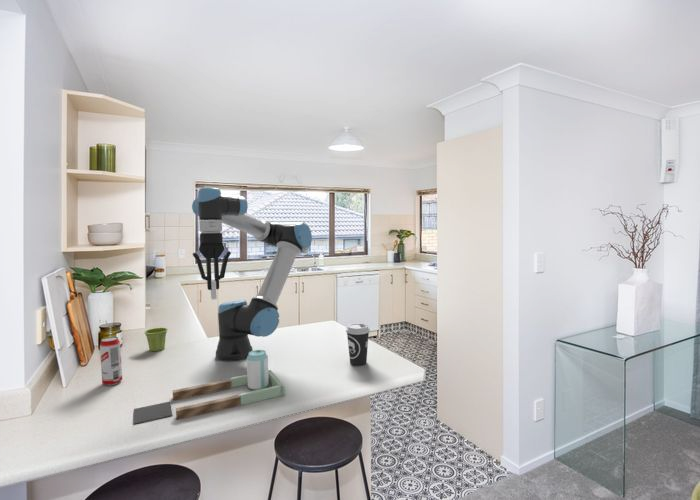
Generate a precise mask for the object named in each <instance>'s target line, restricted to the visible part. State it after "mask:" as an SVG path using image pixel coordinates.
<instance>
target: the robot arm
mask: <svg viewBox="0 0 700 500" xmlns="http://www.w3.org/2000/svg"><path fill="white" fill-rule="evenodd" d="M197 193H198V194H197V197H196V198H195V199H194V200H193V201H192V204H191V209H192V212H193V213H194V215H195V216H196V217H197V216H198V224H199V225H198V227H199V232H200V234H199V247H198V250H197V251H196V252H192V256H193V257H194V259H195V260H196V264H197V267H198V270H199V271H198V272H199V274H200V277H201V279H202V280H204V281H206V285H207V290H208V291H210V298H211V300H217V299H218V298H217V290H219V289H220V280H222V279H224V278H225V274H226V271H227V267H228V266H227V265H228V262H229V261H228V260H229V257H230V256H231V254H232V252H231V251H229V250H227V249H225V247H224V243H223V242H224V241H223V233H222V231H223V224H224V225H227V226H229V227H231V228H234V229H236V230H239V231H241V232H243V233H246V234H248V235H250V236H252V237H254V239H255V240H256V241H259V242H261V243H264V244H266V245H269V246H272V247H275V248H277V251H276V253H275V256H274V257H273V259H272V261H271V265H270V267H269V269H268V271H267V272H266V275H265V278H264V279H263V281H262V284H261V286H260V288H259V291H258V292H257V295H256V296H253V297H252V298H251V300H250V301H249V303H248V302H247V300H246V299H238V300H231V301H227V302H223V303H221V304H219V306H218V308H217V311H218V312H217V319H218V320H217V321H218V334H219V337H218V338H219V340H218V343H217V346H216V350H215V359H216V360H218V361H221V362H235V361H236V362H237V361H242V360H245V359H247V357H248V355H249V354H248V353H249V352H251V351H254V349H253V348H254V347H252V345H251V342H250V339H249V335H250V336H255V337H268V336H270V335H272V334H273V333H274V332H275V331H276V330H277V328H278V326H279V324H280V319H279V318H280V313H279V312H278V310H279V307H278V305H277V302H278V301H279V298H280V296H281V294H282V292H283V291H282V290H283V289H284V287H285V283H287V279H288V277H289V275H290V272H291V270H292V267H293V265H294V262H295V260H296V259H297V258H298V257H299V256H301V254H302V253H303V249H308V248H309V247H311V245H312V242H313V241H312V240H313V237H312V230H311V229H310V226H309V225H308V224H307V223H305V222H301V221H300V222H298V221H296V222H272V221H271V222H270V221H267V220H266V219H265V220H264V219H258V218H256V217H254V216H251V215H249V214H248V213H247V212H248V206H249V205H248V201H247V199H246V197H244V196H242V195H237V194H236V195H234V194H233V195H229V194H222V192H221V189H220V188H217V187H204V188H203V187H201V188H199V189H198V191H197ZM201 255H202V256H203V258H204V259H205V266H206V267H205V268H206V273H205V269H204V266H203V263H202V261H201ZM222 255H223V257H222V262H221V266H220V265H219V258H220V257H221V256H222ZM212 259H213V272H214V275H213V276H214V277H213V278H214V279H212V263H211V262H212ZM219 266H220V267H221V268H220V267H219ZM219 268H220V270H219Z"/></svg>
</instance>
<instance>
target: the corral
mask: <svg viewBox="0 0 700 500" xmlns="http://www.w3.org/2000/svg"><path fill="white" fill-rule="evenodd" d="M268 377H269V384H271V386H267V387H265V388H264V389H259V390H251V391H247V392H246V391H245V392H242V393H239V394H238V395H239V397H240V406H243V405H247V404H251V403H255V402H260V401H264V400H268V399H269V400H270V399H273V398H276V397H281V396H286V386H285V384H284V383H283V382H282V381H281V380H280V379H279V378H278V376H277V375H276V374H275V373H274V372H273V371H272V369H268ZM229 379H230V381H231V389H232V388H237V387H243V386H246V385H247V386H248V381H247V374H243V375H237V376H232V377H231V376H230V377H229Z"/></svg>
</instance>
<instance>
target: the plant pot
mask: <svg viewBox="0 0 700 500" xmlns="http://www.w3.org/2000/svg"><path fill="white" fill-rule="evenodd" d="M167 332H168V328H167V327H155V328H149V329H147V330H146V329H145V331H144V332H143V334H145V336H146V340H147V344H148V350H149V351H150V352H159V351H162V350H164V349H165V348H166V336H167Z"/></svg>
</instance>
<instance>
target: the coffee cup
mask: <svg viewBox="0 0 700 500" xmlns="http://www.w3.org/2000/svg"><path fill="white" fill-rule="evenodd" d="M370 332H371V330H370V327H369V326H368V324H366V323H361V322H360V323H359V322H358V323H357V322H356V323H350V324H348V325H347V327H346V329H345V333H346V337H347V346H348V354H349V355H348V356H349V357H348V358H349V364H350V365H352V366H355V367H361V366H365V365H367V361H368V360H367V359H368V347H369V336H370V335H369V333H370Z"/></svg>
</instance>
